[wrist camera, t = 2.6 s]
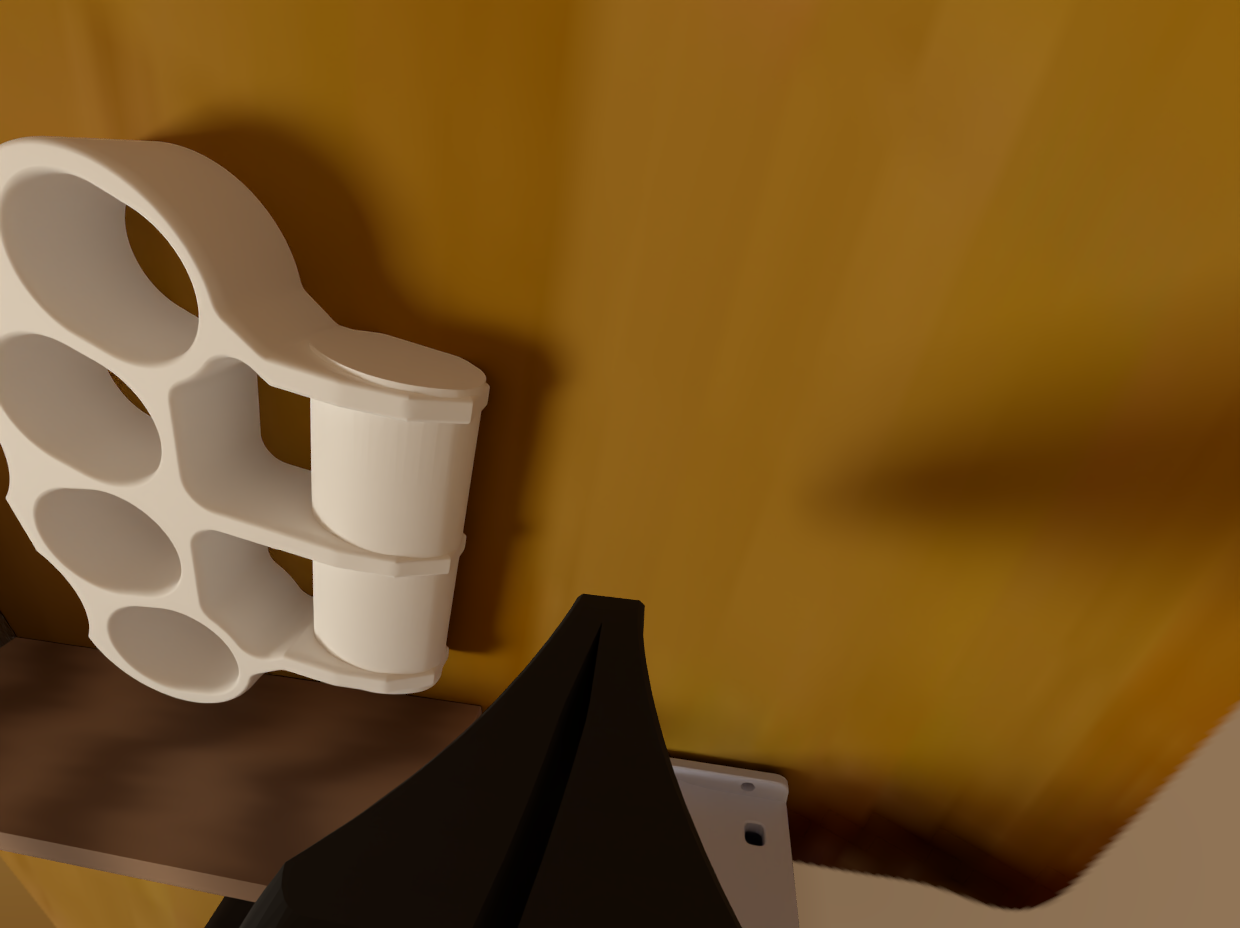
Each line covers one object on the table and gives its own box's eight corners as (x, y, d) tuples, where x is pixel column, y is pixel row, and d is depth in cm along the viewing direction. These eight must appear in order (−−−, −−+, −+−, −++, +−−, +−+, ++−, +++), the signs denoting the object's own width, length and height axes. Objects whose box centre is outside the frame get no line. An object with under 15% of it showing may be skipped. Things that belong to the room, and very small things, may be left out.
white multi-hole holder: (449, 696, 23) (111, 590, 23) (524, 246, 14) (-17, 81, 15) (410, 774, 20) (23, 652, 20) (475, 267, 11) (-203, 60, 12)
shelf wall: (384, 21, 12) (45, -128, 6) (483, 726, 23) (397, 931, 17) (-410, 31, 15) (-1183, -62, 9) (6, 653, 26) (-217, 805, 20)
